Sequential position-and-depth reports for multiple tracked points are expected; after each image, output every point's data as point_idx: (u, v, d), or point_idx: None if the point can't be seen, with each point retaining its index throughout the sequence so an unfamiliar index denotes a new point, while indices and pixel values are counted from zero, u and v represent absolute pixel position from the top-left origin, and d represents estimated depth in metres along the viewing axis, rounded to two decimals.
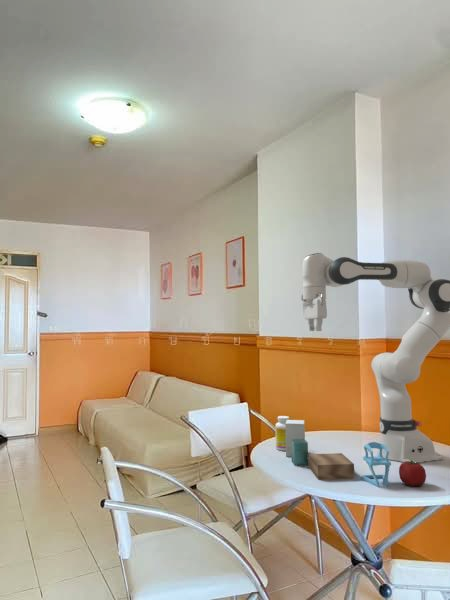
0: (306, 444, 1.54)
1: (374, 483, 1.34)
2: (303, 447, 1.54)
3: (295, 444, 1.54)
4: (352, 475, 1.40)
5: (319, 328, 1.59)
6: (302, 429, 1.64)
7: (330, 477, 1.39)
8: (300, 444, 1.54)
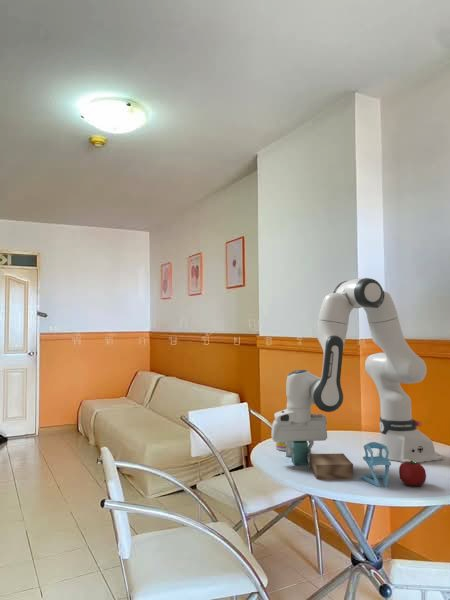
0: (306, 444, 1.54)
1: (374, 483, 1.34)
2: (303, 447, 1.54)
3: (295, 444, 1.54)
4: (351, 475, 1.40)
5: None
6: None
7: (329, 477, 1.40)
8: (300, 444, 1.54)
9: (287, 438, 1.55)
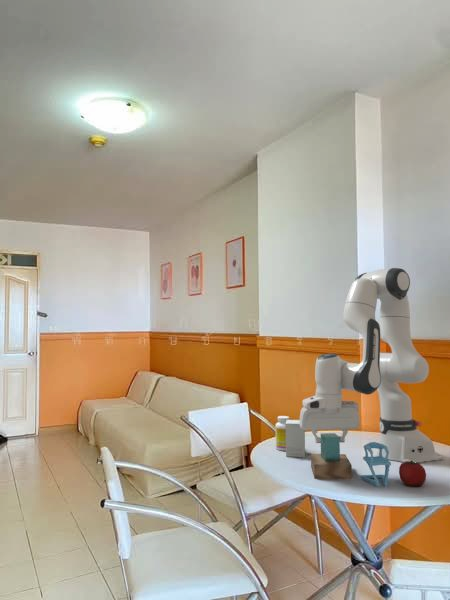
0: (338, 438, 1.44)
1: (374, 483, 1.34)
2: (334, 442, 1.44)
3: (326, 438, 1.44)
4: (350, 476, 1.39)
5: None
6: (302, 429, 1.64)
7: (327, 477, 1.40)
8: (331, 438, 1.44)
9: (317, 426, 1.45)
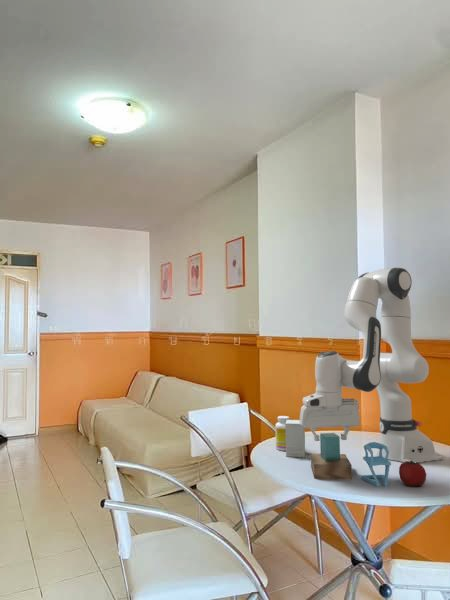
0: (338, 438, 1.44)
1: (374, 483, 1.34)
2: (335, 441, 1.44)
3: (326, 438, 1.44)
4: (350, 476, 1.39)
5: None
6: (302, 429, 1.64)
7: (327, 477, 1.40)
8: (331, 438, 1.44)
9: (317, 424, 1.45)
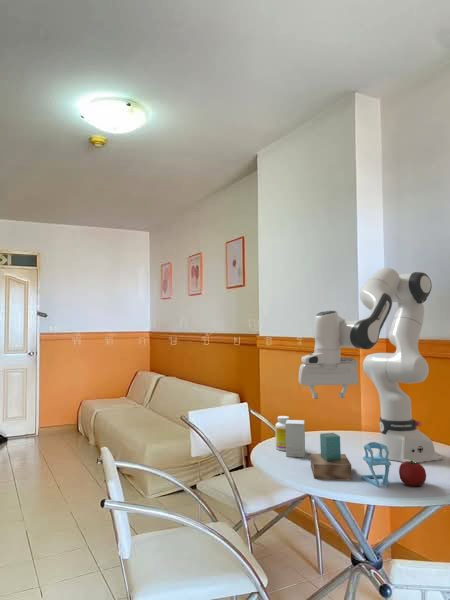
0: (338, 438, 1.44)
1: (374, 483, 1.34)
2: (335, 441, 1.44)
3: (327, 438, 1.44)
4: (349, 476, 1.39)
5: None
6: (302, 429, 1.64)
7: (326, 477, 1.40)
8: (332, 438, 1.44)
9: (316, 382, 1.46)
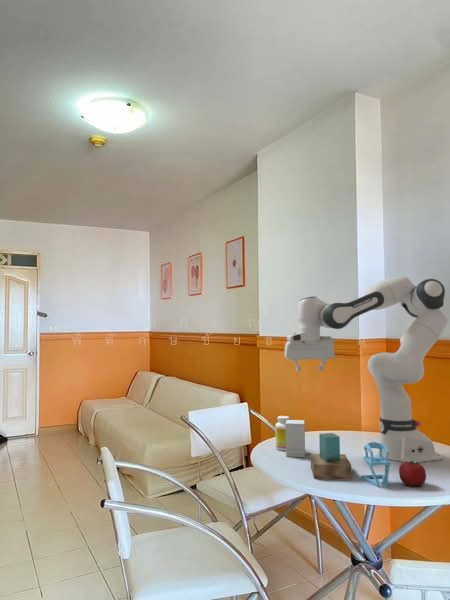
0: (338, 438, 1.44)
1: (374, 483, 1.34)
2: (335, 441, 1.44)
3: (327, 439, 1.43)
4: (349, 476, 1.39)
5: None
6: (302, 429, 1.64)
7: (326, 477, 1.40)
8: (332, 438, 1.44)
9: (299, 356, 1.72)
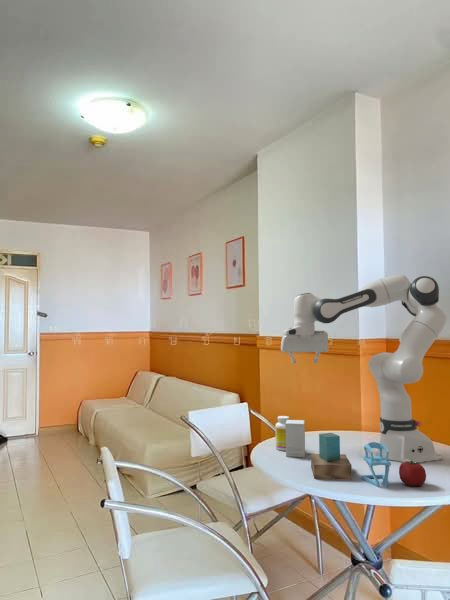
0: (338, 437, 1.45)
1: (374, 483, 1.34)
2: (335, 441, 1.44)
3: (327, 438, 1.44)
4: (350, 476, 1.39)
5: None
6: (302, 429, 1.64)
7: (327, 477, 1.40)
8: (332, 438, 1.44)
9: (294, 349, 1.82)
